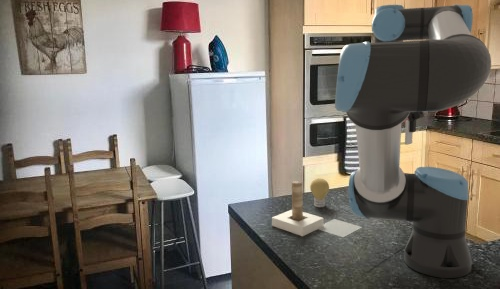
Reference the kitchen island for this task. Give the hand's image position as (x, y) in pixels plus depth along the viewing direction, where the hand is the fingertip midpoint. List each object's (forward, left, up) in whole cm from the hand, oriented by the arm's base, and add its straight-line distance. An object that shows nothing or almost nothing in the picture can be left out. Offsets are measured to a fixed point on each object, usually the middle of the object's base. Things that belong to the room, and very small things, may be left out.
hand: (385, 141), depth 119 cm
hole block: (+20, +15, -27) cm, 37 cm away
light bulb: (+26, -4, -27) cm, 38 cm away
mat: (+10, +8, -27) cm, 30 cm away
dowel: (+20, +15, -27) cm, 37 cm away
